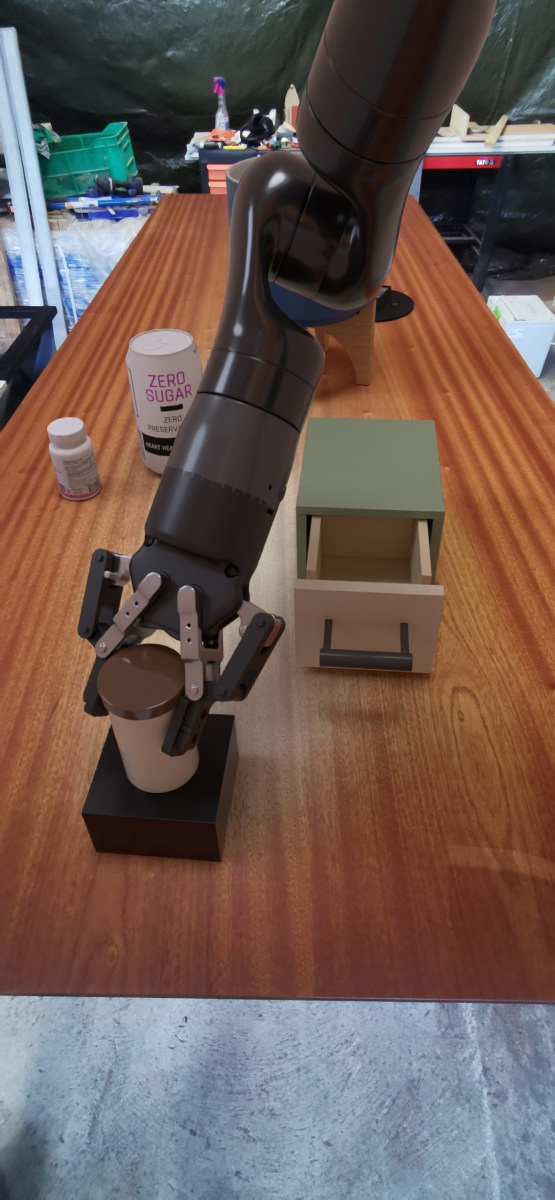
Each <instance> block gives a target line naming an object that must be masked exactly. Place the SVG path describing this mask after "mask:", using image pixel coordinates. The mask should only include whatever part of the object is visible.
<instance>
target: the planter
mask: <svg viewBox="0 0 555 1200" xmlns="http://www.w3.org/2000/svg"><path fill="white" fill-rule="evenodd" d="M289 152H290V153H293V154H295V155H297V156H300V157H302V158H304V156H303V154H302V152H301V151H289ZM260 156H261V155H259V156H254V157H250V158H246V159H243V160H240V161H238V162H236V163H233V164H232V165H230V166H228V167H227V168H226V171H225V188H226V203H227V219H228V234H229V233H230V219H231V211H232V204H233V199H234V195H235V192H236V188H237V186H238V183H239V181H240V179H241V177H242V175H243V174H244V172H245V171H246V169H247V168H248V167H249V166H250V165H251V164H252V163H253V162H254V161H255V160H256V159H258V158H259V157H260ZM304 159H305V158H304ZM269 286H270V290H271V293H272V296H273V299H274V301H275V302H276V304H277V305H278V306H279V307H280V308H281V309H282V310H283V311H284V312H285V313H286V314H287V315H288V316H290V317H291V318H292V319H293V320H295V321H296V322H297V323H299V324H300V325H301V326H303V327H304V328H305V329H306V330H308V329H309V328H310V329H314V335H315V338H316V339H317V340H318V341H319V342H320V343H321V345H322V347H323V349H324V351H325V354H326V353H327V352H328V350H329V348H330V347H329V345H330V337H331V338H333V339H334V340H335V341H336V342H338V344H340V345H341V347H342V348H343V349H344V350H345V351H346V353H347V355H348V357H349V358H350V360H351V363H352V365H353V369H354V374H355V384H357V385H363V386H370V384H371V382H372V378H373V377H372V376H373V375H372V373H373V361H374V360H373V359H374V342H375V329H376V328H375V325H376V322H375V312H376V299H375V298H376V296H377V295H376V296H375V297H374V298H373V299H372V300H370V301H369V302H368V303H366V304H365V305H363V306H361V307H359V308H355V309H352V310H346V311H341V310H336V309H332V308H329V307H327V306H324V305H322V304H320V303H318V302H315V301H313V300H312V299H309V298H306V297H304V296H302V295H300V294H298V293H295V292H293V291H291V290H289V289H287V288H284V287H282V286H280V285H278V284H276V283H274V281H273V282H270V281H269Z"/></svg>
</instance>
